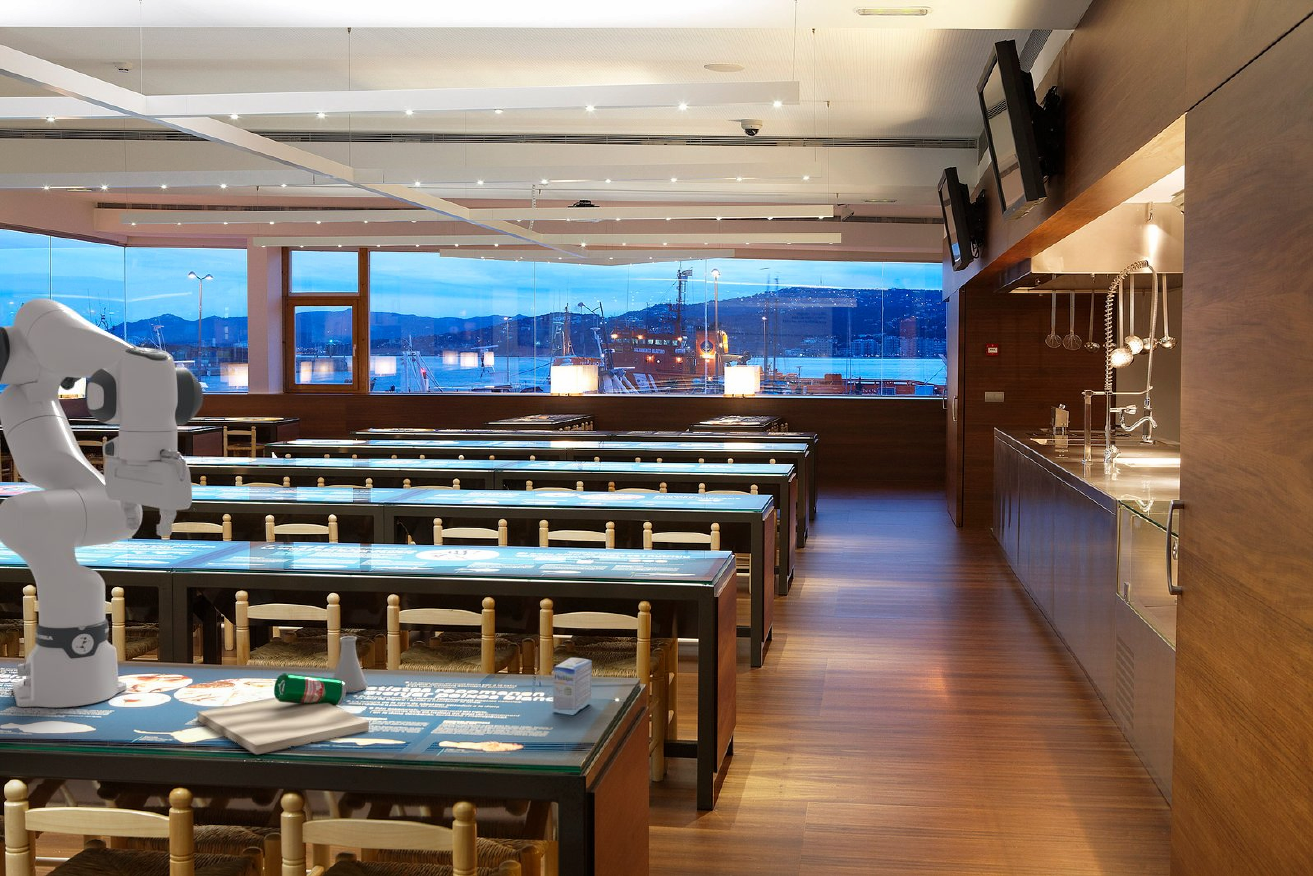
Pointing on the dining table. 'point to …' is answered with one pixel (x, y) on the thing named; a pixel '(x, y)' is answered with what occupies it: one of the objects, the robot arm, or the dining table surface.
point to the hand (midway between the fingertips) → (148, 532)
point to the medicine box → (572, 683)
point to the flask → (350, 666)
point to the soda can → (309, 689)
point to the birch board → (280, 723)
